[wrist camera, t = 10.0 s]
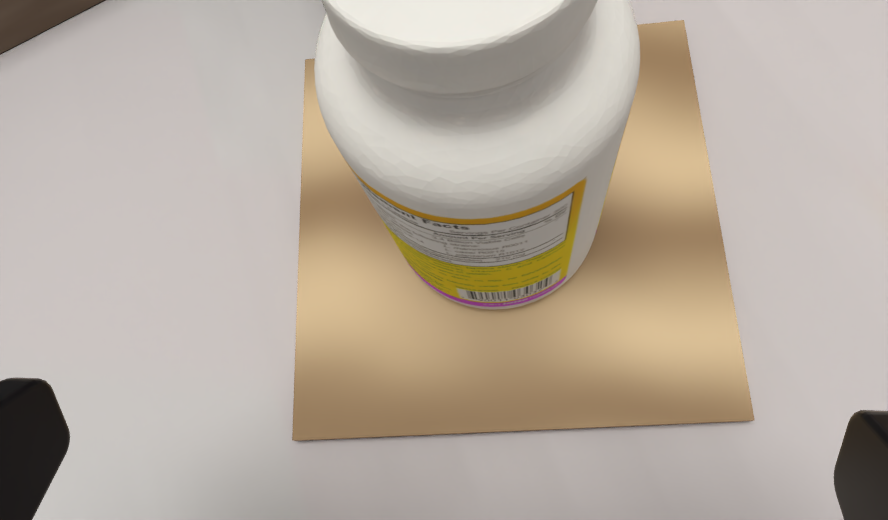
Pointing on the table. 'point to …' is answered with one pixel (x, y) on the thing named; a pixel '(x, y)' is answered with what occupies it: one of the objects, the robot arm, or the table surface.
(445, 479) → the table surface
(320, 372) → the coaster
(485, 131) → the supplement bottle
